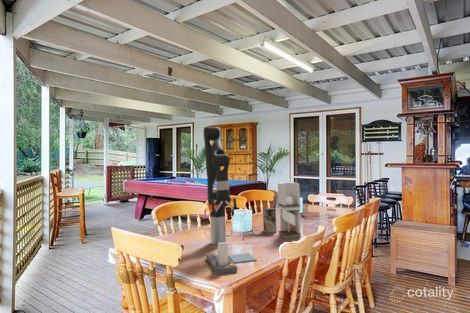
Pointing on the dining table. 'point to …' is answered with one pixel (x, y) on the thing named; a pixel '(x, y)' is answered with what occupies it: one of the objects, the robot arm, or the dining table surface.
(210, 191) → the robot arm
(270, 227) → the coffee box
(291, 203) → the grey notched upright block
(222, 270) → the power strip
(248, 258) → the mat
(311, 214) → the dining table surface
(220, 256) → the white tall rectangular block
